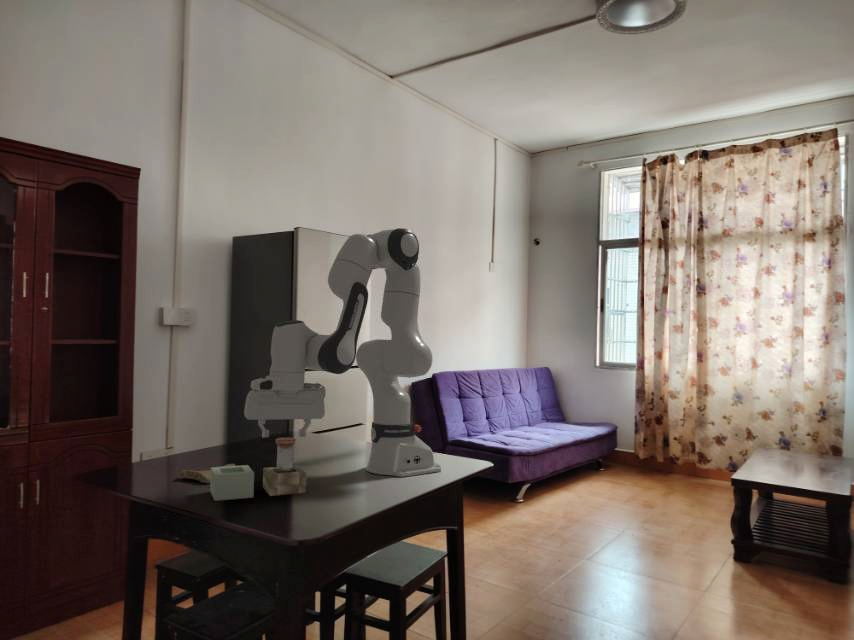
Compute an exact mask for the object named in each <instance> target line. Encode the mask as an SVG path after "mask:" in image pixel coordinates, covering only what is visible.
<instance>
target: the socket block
mask: <svg viewBox="0 0 854 640" xmlns="http://www.w3.org/2000/svg"><path fill="white" fill-rule="evenodd" d="M210 470H211V481H210V483H209V484H210V485H209V486H210V487H209V489H210V490H209V491H210V492H209V493H210V495H211V496H212V498H213V501H215V502H216V501H218V502H219V501H225V500H226V501H228V500H238V499H248V498H251V499H252V498H254V494H255V493H254V492H255V491H254V488H255V486H254V485H255V484H254V483H255V472H254V471H253V470H252V468H251V467H250V466H249V465H248V464H246V465H245V464H244V465H242V464H241V465H235V466H227V467H222V466H215V467H210Z"/></svg>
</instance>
